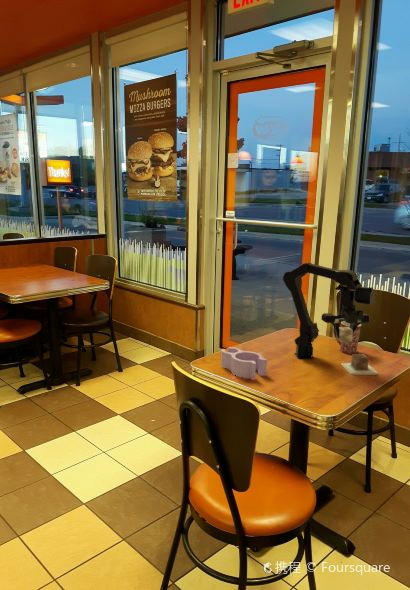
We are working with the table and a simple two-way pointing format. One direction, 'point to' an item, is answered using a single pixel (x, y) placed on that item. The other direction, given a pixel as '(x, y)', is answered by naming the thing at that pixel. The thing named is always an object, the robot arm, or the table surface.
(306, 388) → the table surface
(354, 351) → the mug
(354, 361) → the walnut cube
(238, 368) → the clip
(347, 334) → the maple cube
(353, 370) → the plate
